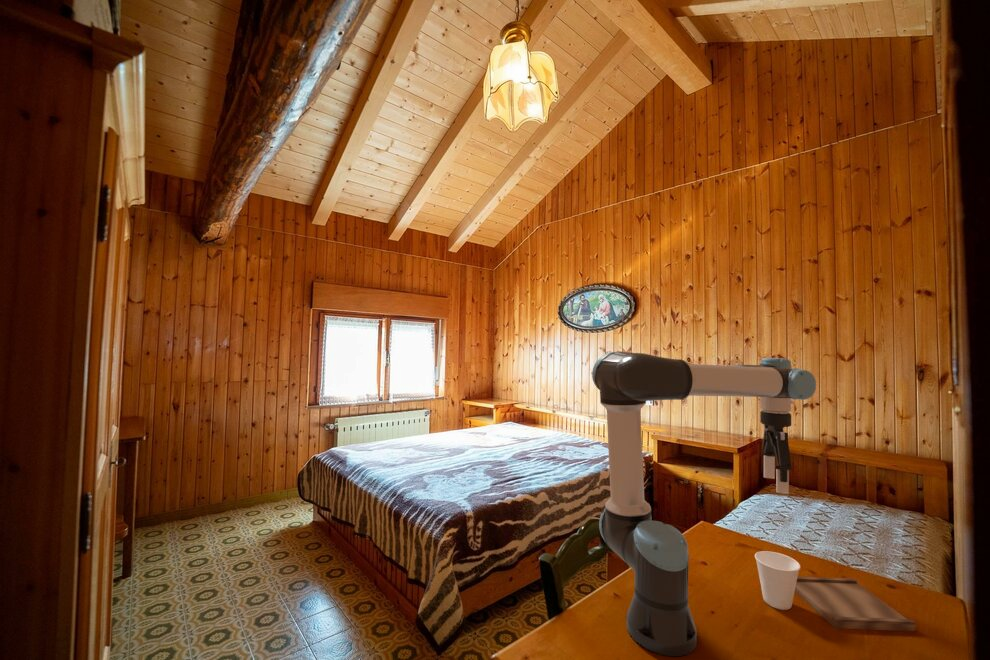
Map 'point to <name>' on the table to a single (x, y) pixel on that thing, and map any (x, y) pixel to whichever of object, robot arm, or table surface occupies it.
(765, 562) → the cup
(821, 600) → the board
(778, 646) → the table surface
